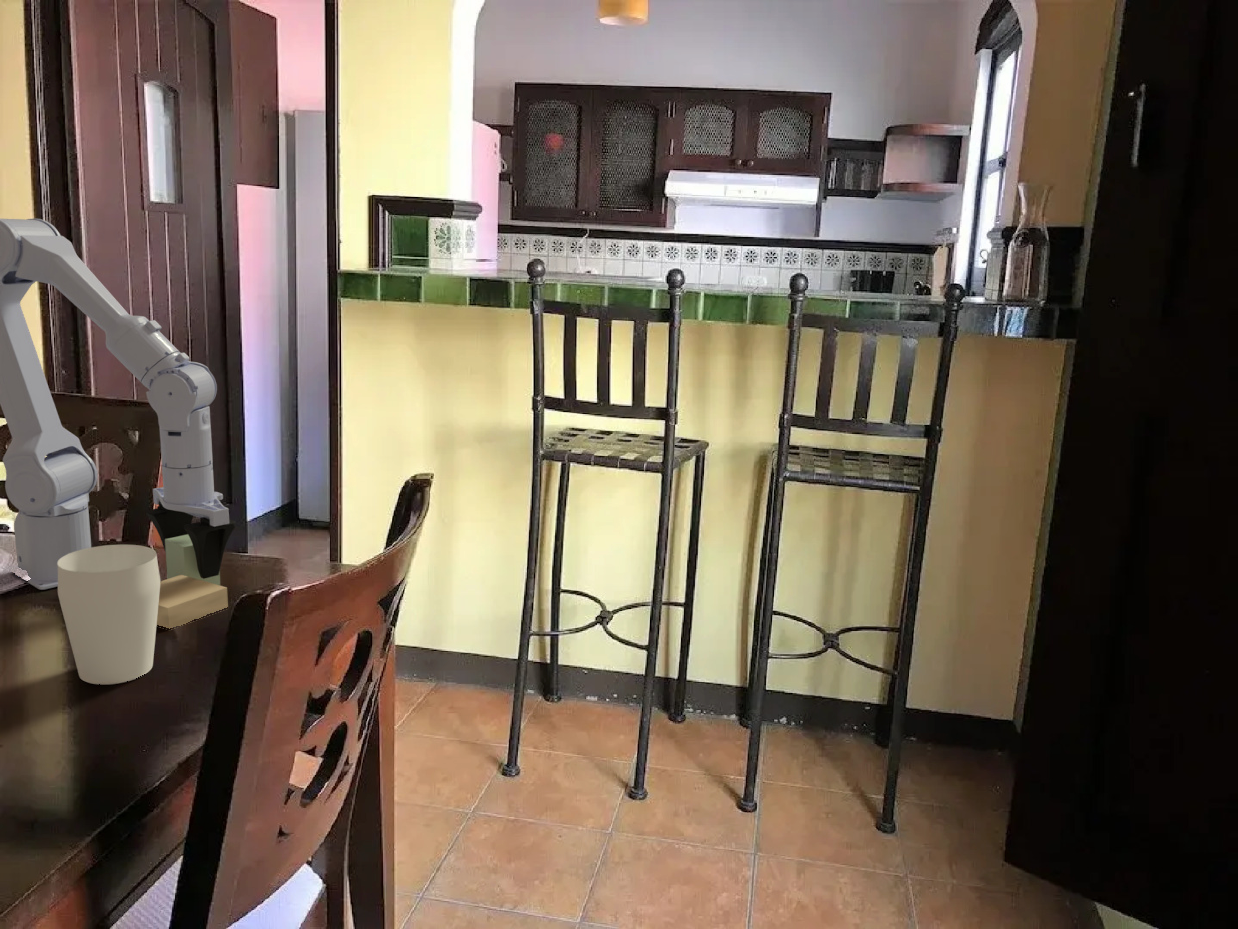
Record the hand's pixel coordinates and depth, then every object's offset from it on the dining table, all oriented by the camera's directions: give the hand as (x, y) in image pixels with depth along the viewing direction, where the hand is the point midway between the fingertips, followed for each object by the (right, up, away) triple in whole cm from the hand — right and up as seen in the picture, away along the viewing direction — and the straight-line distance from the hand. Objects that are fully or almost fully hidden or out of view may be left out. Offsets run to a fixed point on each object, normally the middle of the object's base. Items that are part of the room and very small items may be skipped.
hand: (193, 569), depth 123 cm
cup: (+3, -8, -24) cm, 25 cm away
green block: (0, -2, 0) cm, 2 cm away
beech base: (+2, -4, -8) cm, 9 cm away
